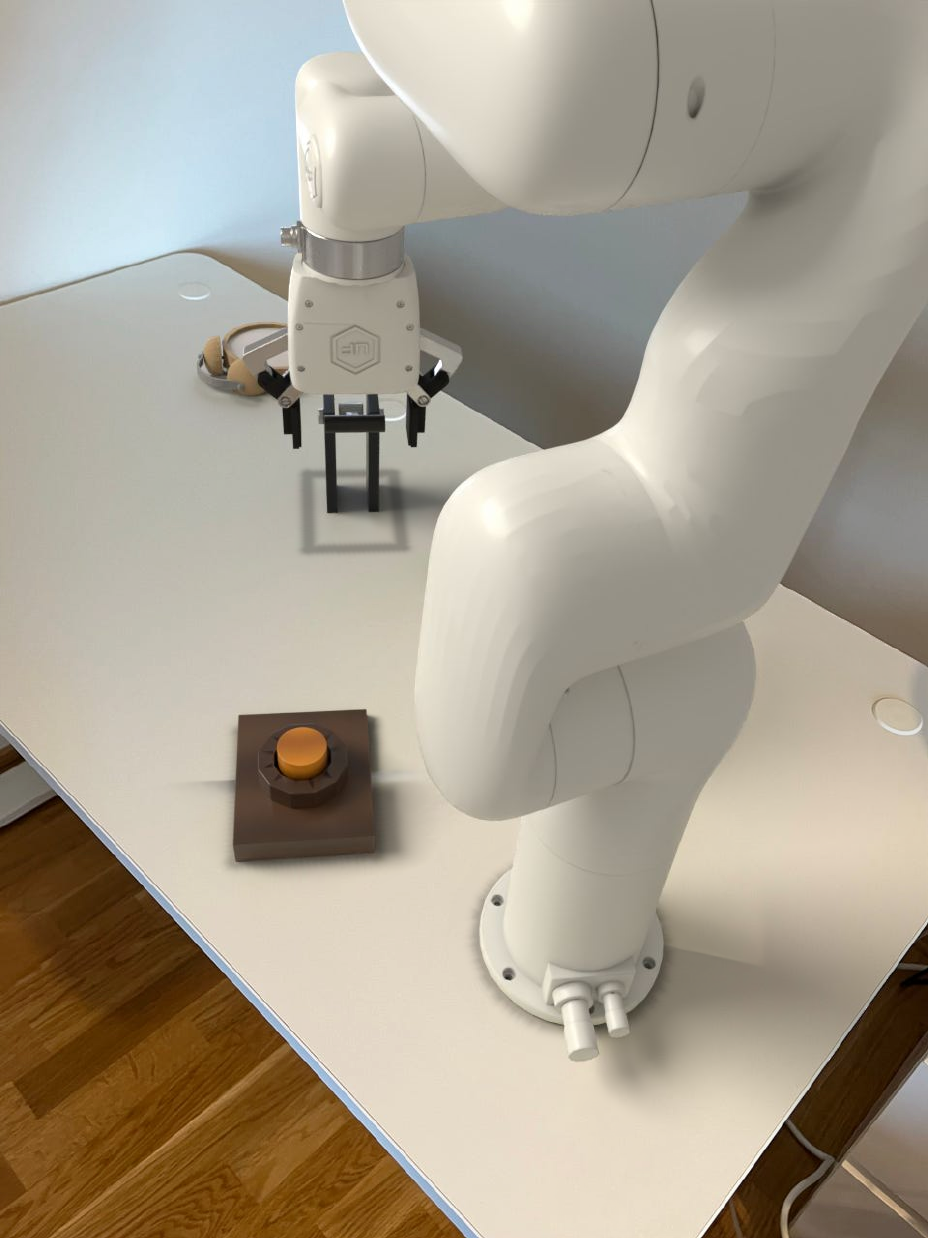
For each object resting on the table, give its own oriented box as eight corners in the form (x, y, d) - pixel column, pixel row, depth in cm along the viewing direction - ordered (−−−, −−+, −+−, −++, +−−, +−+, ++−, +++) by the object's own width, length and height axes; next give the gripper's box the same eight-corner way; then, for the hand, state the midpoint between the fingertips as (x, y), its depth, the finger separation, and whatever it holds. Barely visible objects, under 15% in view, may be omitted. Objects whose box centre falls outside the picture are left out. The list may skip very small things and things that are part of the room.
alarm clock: (344, 353, 122) (232, 373, 112) (339, 392, 124) (229, 415, 115) (287, 313, 127) (175, 329, 118) (283, 352, 130) (173, 370, 121)
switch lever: (385, 438, 89) (385, 409, 88) (325, 439, 88) (324, 409, 88) (377, 427, 100) (377, 401, 100) (324, 428, 100) (323, 402, 99)
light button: (327, 779, 78) (327, 764, 77) (277, 782, 77) (276, 767, 76) (326, 741, 80) (326, 726, 79) (278, 743, 80) (277, 728, 79)
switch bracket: (401, 547, 102) (405, 436, 94) (307, 550, 101) (301, 438, 92) (393, 472, 111) (395, 364, 102) (305, 474, 110) (300, 364, 101)
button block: (374, 853, 78) (375, 821, 75) (235, 862, 77) (230, 829, 74) (366, 726, 86) (366, 693, 84) (240, 732, 85) (236, 699, 82)
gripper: (230, 267, 74) (249, 467, 86) (476, 269, 76) (461, 463, 88) (234, 219, 80) (251, 414, 92) (464, 222, 82) (451, 412, 94)
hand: (354, 438), depth 90 cm, fingers open, 9 cm apart
